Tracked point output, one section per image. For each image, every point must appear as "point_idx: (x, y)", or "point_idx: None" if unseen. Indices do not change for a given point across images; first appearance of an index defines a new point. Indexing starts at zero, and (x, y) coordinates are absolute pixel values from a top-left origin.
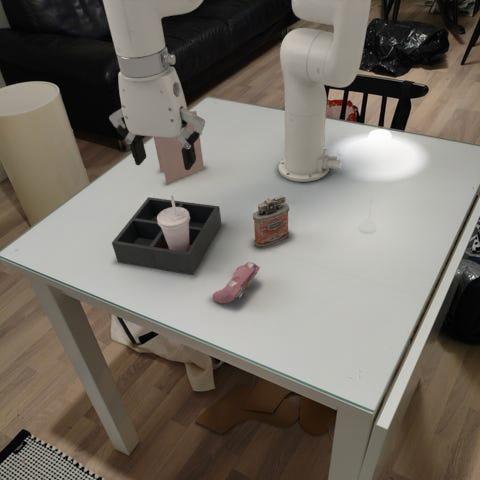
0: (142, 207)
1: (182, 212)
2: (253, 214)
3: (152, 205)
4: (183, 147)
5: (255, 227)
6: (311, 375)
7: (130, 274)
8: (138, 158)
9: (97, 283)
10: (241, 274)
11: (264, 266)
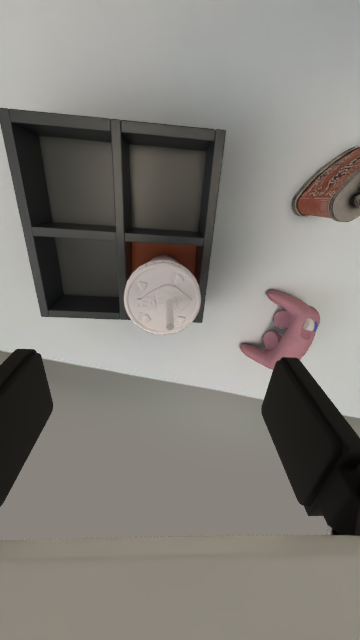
0: (18, 173)
1: (180, 284)
2: (335, 204)
3: (25, 127)
4: (311, 493)
5: (320, 213)
6: (348, 408)
7: (98, 320)
8: (39, 430)
9: (61, 345)
10: (298, 355)
11: (308, 264)
